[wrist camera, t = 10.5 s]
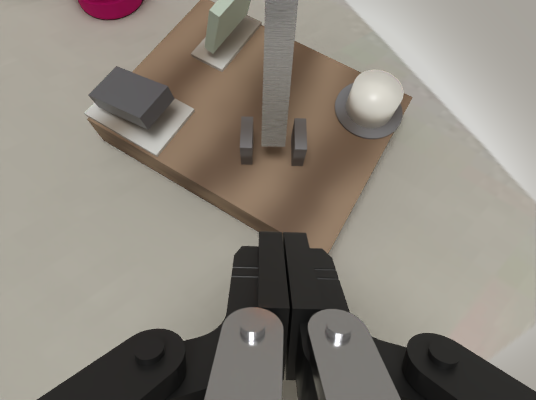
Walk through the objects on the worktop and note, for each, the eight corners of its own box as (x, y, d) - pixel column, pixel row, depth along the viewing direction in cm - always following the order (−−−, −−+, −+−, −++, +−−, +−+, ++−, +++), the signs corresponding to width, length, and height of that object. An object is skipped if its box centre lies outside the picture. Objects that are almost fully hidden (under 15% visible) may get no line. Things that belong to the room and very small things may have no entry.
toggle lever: (296, 153, 23) (329, -129, 13) (250, 152, 23) (250, -133, 13) (293, 128, 25) (320, -131, 15) (251, 126, 25) (253, -135, 15)
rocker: (98, 106, 25) (88, 95, 24) (124, 78, 26) (116, 66, 25) (148, 129, 23) (139, 118, 22) (174, 98, 24) (167, 86, 23)
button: (337, 114, 26) (344, 96, 24) (357, 82, 27) (366, 62, 25) (380, 136, 26) (391, 119, 24) (399, 102, 27) (411, 83, 25)
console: (100, 138, 28) (67, 96, 23) (205, 24, 33) (196, -31, 28) (319, 267, 25) (334, 250, 20) (398, 119, 30) (427, 76, 25)
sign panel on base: (204, 47, 27) (209, 9, 23) (238, 8, 29) (248, -33, 25) (212, 53, 27) (219, 17, 23) (246, 14, 29) (257, -26, 25)
